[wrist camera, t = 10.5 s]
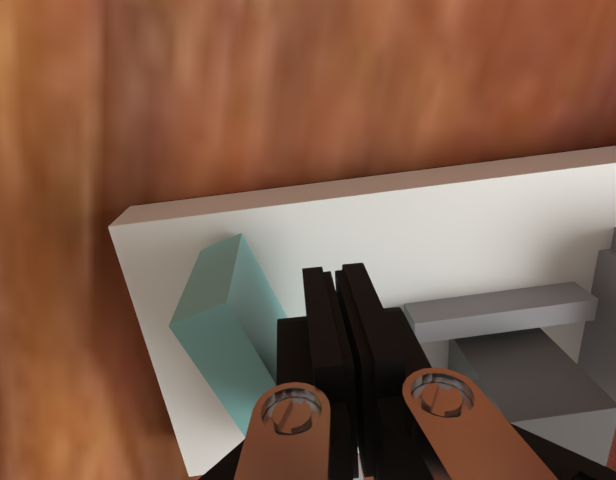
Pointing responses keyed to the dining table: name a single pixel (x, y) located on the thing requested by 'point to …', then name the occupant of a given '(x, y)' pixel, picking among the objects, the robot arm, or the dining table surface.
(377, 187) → the board
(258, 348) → the teal lever handle
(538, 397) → the grey rectangular block
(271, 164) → the dining table surface
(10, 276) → the dining table surface
